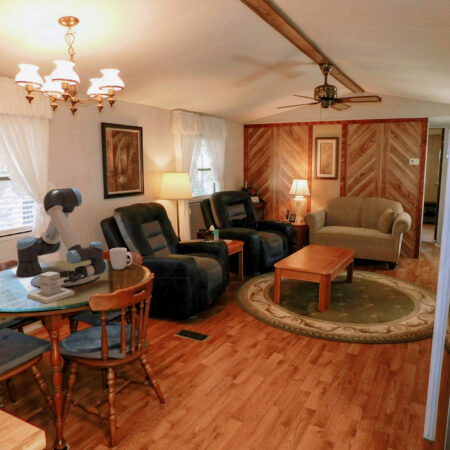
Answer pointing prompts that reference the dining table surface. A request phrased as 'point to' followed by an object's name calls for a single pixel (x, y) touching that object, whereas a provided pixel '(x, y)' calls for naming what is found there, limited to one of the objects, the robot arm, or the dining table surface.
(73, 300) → the dining table surface
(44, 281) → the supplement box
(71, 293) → the hole board
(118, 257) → the mug
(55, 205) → the robot arm
